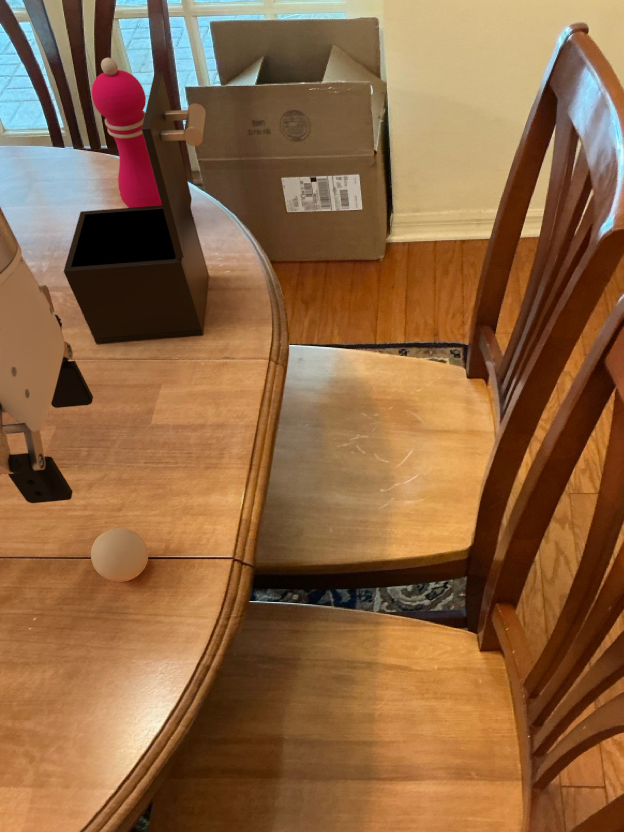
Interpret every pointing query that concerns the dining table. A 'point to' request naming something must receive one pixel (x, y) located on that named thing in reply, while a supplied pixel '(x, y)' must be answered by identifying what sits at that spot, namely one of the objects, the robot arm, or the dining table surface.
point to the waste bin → (136, 276)
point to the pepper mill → (126, 132)
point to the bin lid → (171, 156)
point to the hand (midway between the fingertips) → (63, 448)
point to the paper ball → (119, 554)
